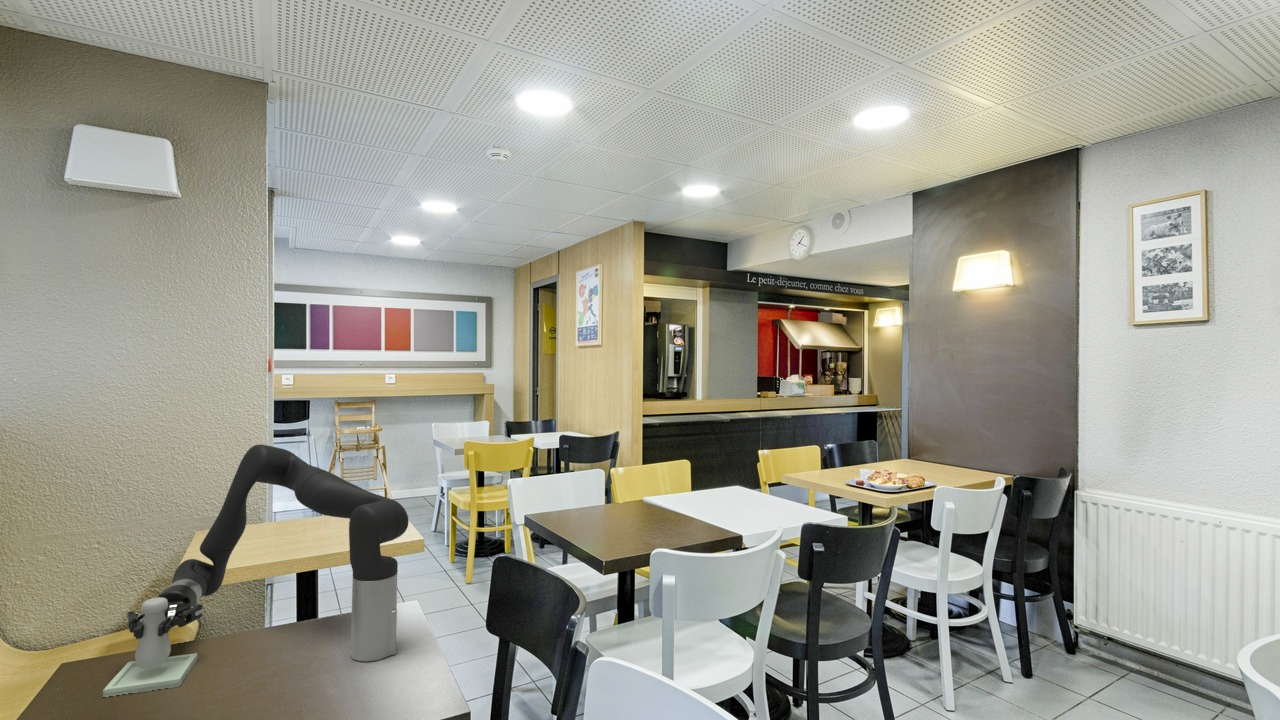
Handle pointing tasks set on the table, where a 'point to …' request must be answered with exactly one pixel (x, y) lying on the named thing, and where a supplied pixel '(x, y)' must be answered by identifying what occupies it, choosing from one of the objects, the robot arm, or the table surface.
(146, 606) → the salt shaker
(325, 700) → the table surface
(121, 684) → the tray
